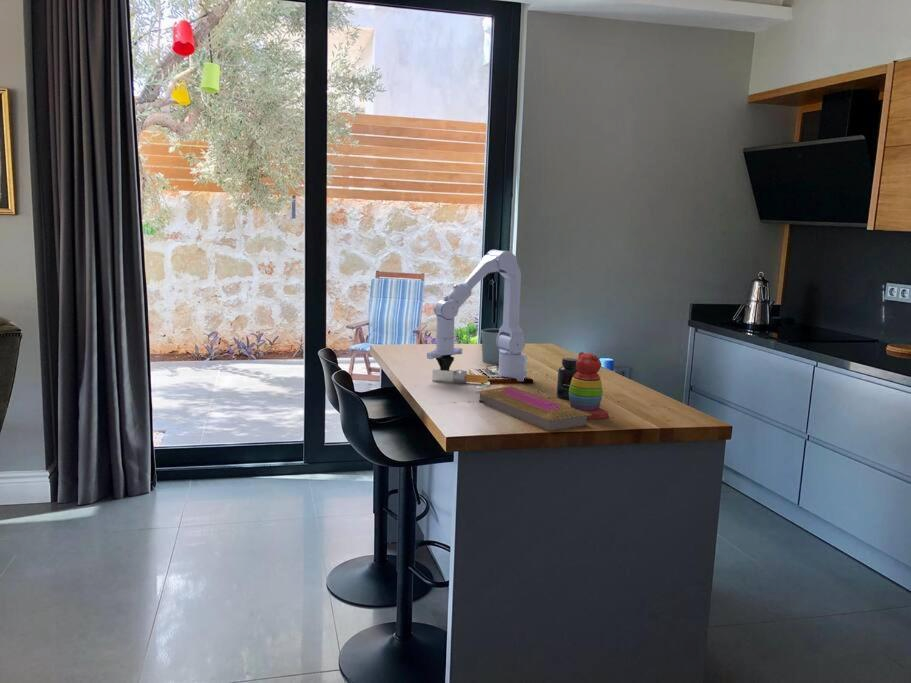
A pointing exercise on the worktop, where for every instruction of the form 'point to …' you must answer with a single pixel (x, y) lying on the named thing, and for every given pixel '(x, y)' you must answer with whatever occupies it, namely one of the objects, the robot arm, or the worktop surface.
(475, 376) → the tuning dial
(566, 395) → the supplement bottle
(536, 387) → the worktop surface
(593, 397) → the stacking bear
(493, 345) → the grey cylinder
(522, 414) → the rafter model
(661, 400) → the worktop surface
